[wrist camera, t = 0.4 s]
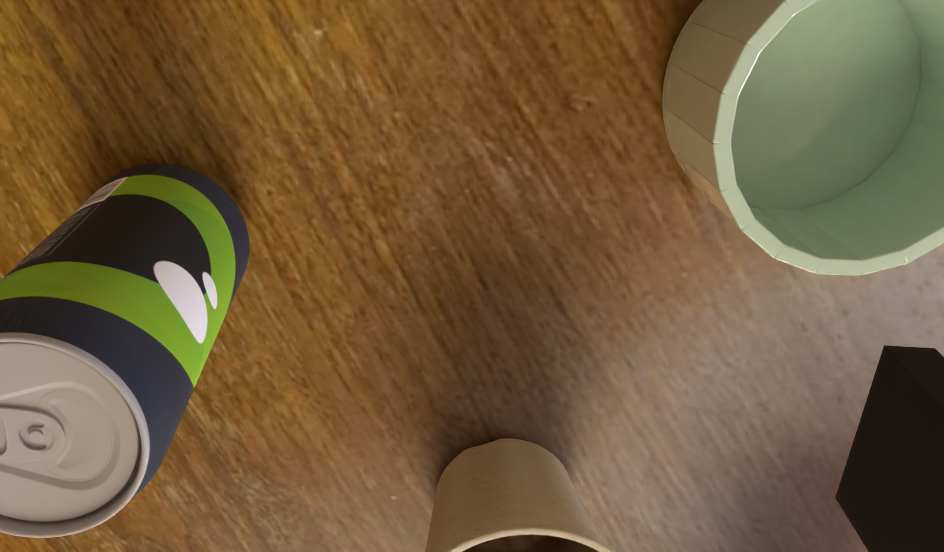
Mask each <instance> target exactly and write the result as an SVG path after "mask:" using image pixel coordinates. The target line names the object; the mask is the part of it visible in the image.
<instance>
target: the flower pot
mask: <svg viewBox="0 0 944 552" xmlns="http://www.w3.org/2000/svg"><path fill="white" fill-rule="evenodd" d="M425 552H617V551H615V550H614V549H613V548H612V547H610V546H609V545H608V544H607V543H606V542H605V540H604V539H602V538H601V537H600V535H599V533H598V531H597V529H596V527H595V525H594V524H593V522H592V520H591V518H590V516H589V514H588V512H587V511H586V509H585V507H584V505H583V503H582V501H581V499H580V497H579V495H578V493H577V491H576V489H575V487H574V485H573V483H572V481H571V479H570V477H569V475H568V473H567V471H566V469H565V468H564V466H563V465H562V463H561V462H560V461H559V460H558V459H557V458H556V457H555V456H554V455H553V454H552V453H550V452H549V451H548V450H546V449H545V448H543V447H541V446H539V445H537V444H535V443H532V442H528V441H524V440H519V439H512V438H503V439H498V440H495V441H493V442H490V443H486V444H483V445H479V446H476V447H472V448H468V449H466V450H464V451H463V452H462V453H460V454H459V455H458V456H457V457H456V458H454V459H453V461H452V462H451V463H450V464H449V465H448V466H447V467H446V469H445V470H444V472H443V473H442V475H441V477H440V479H439V482H438V485H437V488H436V493H435V501H434V507H433V512H432V518H431V524H430V529H429V534H428V540H427V545H426V551H425Z"/></svg>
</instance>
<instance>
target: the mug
mask: <svg viewBox="0 0 944 552" xmlns="http://www.w3.org/2000/svg"><path fill="white" fill-rule="evenodd" d="M662 108H663V120H664V126H665V131H666V136H667V139H668V142H669V145H670V148H671V150H672V152H673V154H674V156H675V158H676V160H677V162H678V164H679V166H680V167H681V168H682V170H683V171H684V173H685V174H686V176H687V177H688V178H689V179H690V181H691V183H693V185H694V186H695V187H696V188H697V189H698V190H699V191H700V192H701V193H702V194H703V195H705V196H706V197H707V198H708V199H709V200H710V201H711V202H712V203H713V204H714V205H715V206H716V207H717V208H718V209H719V210H720V211H721V212H722V213H723V214H724V215H725V216H726V217H727V218H729V219H730V220H731V221H732V222H733V223H734V224H735V225H736V226H737V227H738V228H739V229H740V230H741V231H742V232H743V233H744V234H746V235H747V236H748V237H749V238H750V239H751V240H753V241H754V242H755V243H756V244H757V245H758V246H759V247H761V248H762V249H763V250H764V251H765V252H766V253H768V254H769V255H770V256H771V257H773V258H775V259H776V260H779V261H782V262H784V263H787V264H790V265H792V266H795V267H797V268H800V269H803V270H805V271H808V272H811V273H815V274H826V275H854V276H860V275H865V274H868V273H872V272H876V271H880V270H884V269H888V268H892V267H896V266H899V265H903V264H906V263H909V262H911V261H913V260H915V259H916V258H918V257H920V256H922V255H924V254H925V253H927V252H929V251H931V250H932V249H934V248H936V247H938V246H939V245H941V244H943V243H944V0H702V2H701V3H700V4H699V5H698V7H697V8H696V9H695V10H694V12H693V13H692V14H691V16H690V17H689V19H688V20H687V22H686V24H685V25H684V27H683V28H682V30H681V32H680V34H679V36H678V38H677V40H676V42H675V44H674V47H673V49H672V52H671V55H670V58H669V61H668V64H667V68H666V73H665V78H664V83H663V95H662Z"/></svg>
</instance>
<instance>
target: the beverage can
mask: <svg viewBox="0 0 944 552" xmlns="http://www.w3.org/2000/svg"><path fill="white" fill-rule="evenodd" d="M248 256H249V238H248V232H247V228H246V225H245V222H244V219H243V217H242V215H241V213H240V211H239V209H238V207H237V206H236V204H235V203H234V201H233V200H232V199H231V198H230V196H229V195H228V194H227V193H226V192H225V191H224V190H223V189H222V188H221V187H220V186H218V185H217V184H216V183H215V182H213V181H212V180H210V179H209V178H207V177H205V176H204V175H202V174H200V173H198V172H195V171H193V170H190V169H187V168H184V167H180V166H176V165H169V164H148V165H142V166H138V167H134V168H131V169H128V170H126V171H123V172H121V173H119V174H118V175H116V176H114V177H113V178H111V179H110V180H109V181H107V182H106V183H105V184H104V185H103V186H102V187H101V188H100V189H99V190H98V191H96V192H95V193H94V194H93V195H92V196H91V197H90V198H89V199H88V200H87V201H86V202H85V203H84V204H82V205H81V206H80V207H79V208H78V209H77V210H76V211H75V212H74V213H73V214H72V215H71V216H70V217H68V218H67V219H66V220H65V221H64V222H63V223H62V224H61V225H60V226H59V227H58V228H57V229H56V230H55V231H53V232H52V233H51V234H50V235H49V236H48V237H47V238H46V239H45V240H44V241H43V242H42V243H41V244H39V245H38V246H37V247H36V248H35V249H34V250H33V251H32V252H31V253H30V254H29V255H28V256H27V257H25V258H24V259H23V260H22V261H21V262H20V263H19V264H18V265H17V266H16V267H15V268H14V269H13V270H11V271H10V272H9V273H8V274H7V275H6V276H5V277H4V278H3V279H2V280H1V281H0V532H2V533H6V534H10V535H15V536H22V537H33V538H49V537H60V536H66V535H71V534H75V533H79V532H82V531H85V530H88V529H90V528H93V527H95V526H97V525H99V524H101V523H103V522H105V521H106V520H108V519H109V518H111V517H112V516H114V515H115V514H116V513H118V512H119V511H120V510H121V509H122V508H123V507H124V506H125V505H126V504H127V503H128V502H129V501H130V499H131V498H133V497H134V496H135V495H136V494H137V493H139V492H140V491H141V490H142V489H143V488H144V487H145V486H146V485H147V483H148V482H149V481H150V480H151V479H152V477H153V476H154V474H155V473H156V471H157V470H158V468H159V466H160V464H161V462H162V460H163V458H164V456H165V454H166V451H167V449H168V447H169V445H170V442H171V440H172V438H173V435H174V433H175V431H176V428H177V426H178V424H179V422H180V419H181V417H182V415H183V412H184V410H185V408H186V405H187V403H188V401H189V399H190V396H191V394H192V392H193V389H194V387H195V385H196V382H197V380H198V378H199V376H200V373H201V371H202V369H203V366H204V364H205V362H206V359H207V357H208V355H209V353H210V350H211V348H212V346H213V343H214V341H215V339H216V336H217V334H218V332H219V330H220V327H221V325H222V323H223V320H224V318H225V316H226V313H227V311H228V309H229V307H230V304H231V302H232V300H233V297H234V295H235V293H236V290H237V288H238V286H239V284H240V281H241V279H242V277H243V274H244V272H245V269H246V266H247V262H248Z"/></svg>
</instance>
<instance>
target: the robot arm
mask: <svg viewBox="0 0 944 552" xmlns="http://www.w3.org/2000/svg"><path fill="white" fill-rule="evenodd" d="M835 498H836V500H837V502H838V503H839V505H840V506H841V508H842V510H843V511H844V513H845V514H846V516H847V518H848V519H849V521H850V522H851V524H852V526H853V527H854V529H855V530H856V532H857V534H858V535H859V537H860V538H861V540H862V542H863V543H864V545H865V546H866V548H867V550H868V551H869V552H944V357H943V356H942V355H941V354H940V353H939V352H938V351H937V350H936V349H935V348H918V347H901V346H884V348H883V351H882V354H881V357H880V360H879V363H878V366H877V370H876V373H875V376H874V379H873V382H872V385H871V388H870V391H869V394H868V398H867V401H866V404H865V407H864V410H863V413H862V416H861V419H860V422H859V426H858V429H857V432H856V435H855V438H854V441H853V444H852V447H851V450H850V454H849V457H848V460H847V463H846V466H845V469H844V472H843V475H842V478H841V482H840V485H839V488H838V491H837V494H836V497H835Z"/></svg>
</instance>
